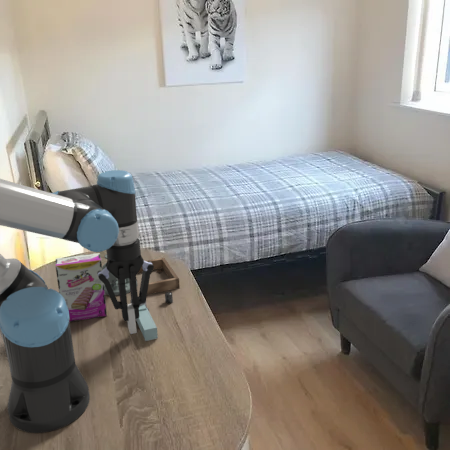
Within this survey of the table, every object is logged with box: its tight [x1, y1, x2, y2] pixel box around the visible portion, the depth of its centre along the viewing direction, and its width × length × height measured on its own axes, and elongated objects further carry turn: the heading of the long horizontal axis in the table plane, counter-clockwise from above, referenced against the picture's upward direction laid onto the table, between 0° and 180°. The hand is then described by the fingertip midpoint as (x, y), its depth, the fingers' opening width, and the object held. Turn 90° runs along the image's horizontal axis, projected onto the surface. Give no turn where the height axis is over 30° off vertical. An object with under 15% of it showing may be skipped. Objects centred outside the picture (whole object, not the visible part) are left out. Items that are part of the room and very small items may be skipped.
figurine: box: [102, 253, 138, 296], centre depth 144 cm, size 11×11×12 cm
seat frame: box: [137, 257, 181, 295], centre depth 149 cm, size 11×16×3 cm
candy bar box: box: [55, 252, 108, 323], centre depth 128 cm, size 11×5×16 cm, turn 108°
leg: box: [129, 299, 159, 342], centre depth 125 cm, size 4×15×4 cm, turn 22°
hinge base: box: [135, 291, 174, 321], centre depth 132 cm, size 12×7×2 cm, turn 112°
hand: (132, 330), depth 120 cm, fingers closed
